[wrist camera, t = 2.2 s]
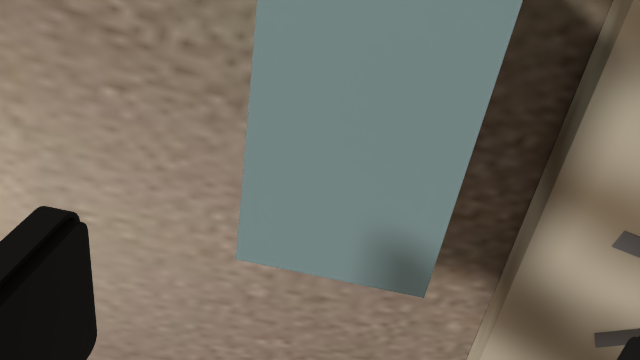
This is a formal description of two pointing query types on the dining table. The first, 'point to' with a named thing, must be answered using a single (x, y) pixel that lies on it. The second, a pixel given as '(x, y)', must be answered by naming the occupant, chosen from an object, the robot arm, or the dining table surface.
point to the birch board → (580, 222)
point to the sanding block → (364, 132)
